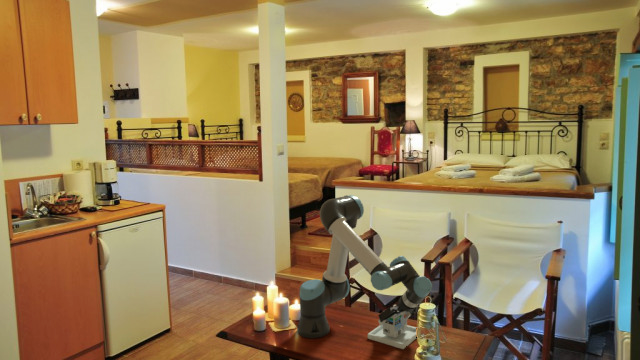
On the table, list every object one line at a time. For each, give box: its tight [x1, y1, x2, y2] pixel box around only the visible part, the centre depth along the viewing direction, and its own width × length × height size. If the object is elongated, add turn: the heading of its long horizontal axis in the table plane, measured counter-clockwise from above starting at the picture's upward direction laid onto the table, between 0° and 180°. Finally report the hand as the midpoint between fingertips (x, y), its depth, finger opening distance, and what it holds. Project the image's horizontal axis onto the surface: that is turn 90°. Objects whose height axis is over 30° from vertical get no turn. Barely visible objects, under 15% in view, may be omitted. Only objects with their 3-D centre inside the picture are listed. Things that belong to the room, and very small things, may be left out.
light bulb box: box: [383, 304, 408, 338], centre depth 226 cm, size 11×7×11 cm, turn 139°
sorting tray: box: [367, 324, 417, 350], centre depth 227 cm, size 18×18×2 cm
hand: (392, 320), depth 228 cm, fingers closed on light bulb box, 12 cm apart
